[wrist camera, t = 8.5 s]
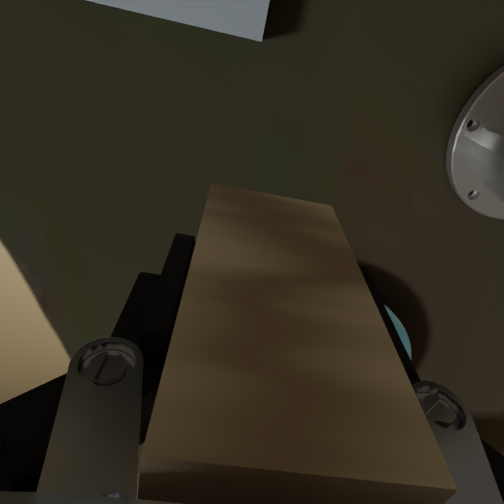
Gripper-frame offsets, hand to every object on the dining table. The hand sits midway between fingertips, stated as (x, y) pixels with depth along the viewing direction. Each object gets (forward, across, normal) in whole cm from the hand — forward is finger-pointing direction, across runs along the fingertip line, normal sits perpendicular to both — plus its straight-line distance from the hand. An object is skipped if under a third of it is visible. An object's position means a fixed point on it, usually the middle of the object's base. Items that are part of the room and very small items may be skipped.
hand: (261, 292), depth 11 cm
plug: (+3, 0, 0) cm, 3 cm away
